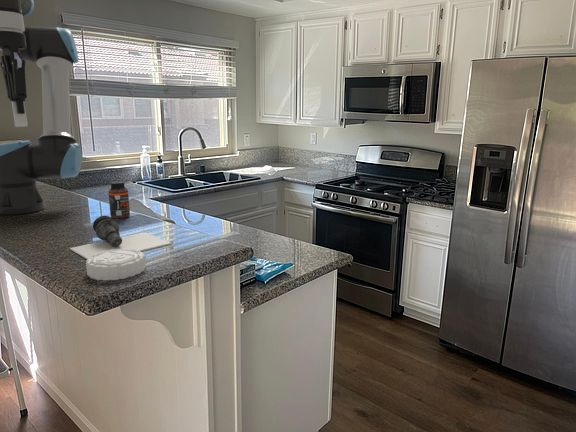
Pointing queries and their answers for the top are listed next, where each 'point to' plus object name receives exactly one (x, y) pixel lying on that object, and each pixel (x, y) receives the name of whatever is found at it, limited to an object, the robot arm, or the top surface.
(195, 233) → the top surface
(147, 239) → the board
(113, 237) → the salt shaker
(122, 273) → the mooncake
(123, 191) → the supplement bottle
